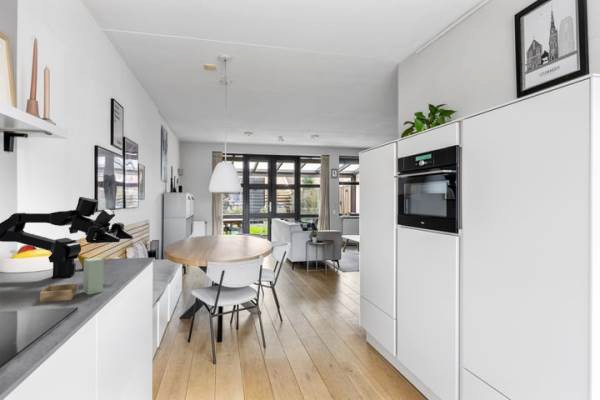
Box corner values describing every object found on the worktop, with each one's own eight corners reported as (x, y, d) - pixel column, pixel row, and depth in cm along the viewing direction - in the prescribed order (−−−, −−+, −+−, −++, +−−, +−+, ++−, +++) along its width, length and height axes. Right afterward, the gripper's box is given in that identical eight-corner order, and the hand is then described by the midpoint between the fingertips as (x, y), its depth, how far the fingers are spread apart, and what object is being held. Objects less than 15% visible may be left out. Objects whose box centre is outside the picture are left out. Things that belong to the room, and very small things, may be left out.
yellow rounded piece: (89, 271, 137) (70, 255, 136) (88, 274, 141) (69, 259, 139) (100, 262, 141) (81, 247, 139) (98, 265, 145) (80, 250, 143)
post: (88, 294, 105) (88, 261, 105) (83, 291, 108) (83, 259, 108) (102, 291, 109) (103, 259, 108) (97, 289, 111) (98, 257, 111)
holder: (40, 302, 96) (40, 292, 96) (48, 294, 104) (48, 285, 104) (71, 299, 100) (71, 290, 100) (77, 292, 107) (77, 283, 107)
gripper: (79, 207, 117) (119, 221, 117) (109, 206, 136) (144, 218, 136) (69, 236, 117) (109, 250, 117) (101, 231, 136) (136, 243, 136)
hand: (126, 239), depth 126 cm, fingers open, 9 cm apart
